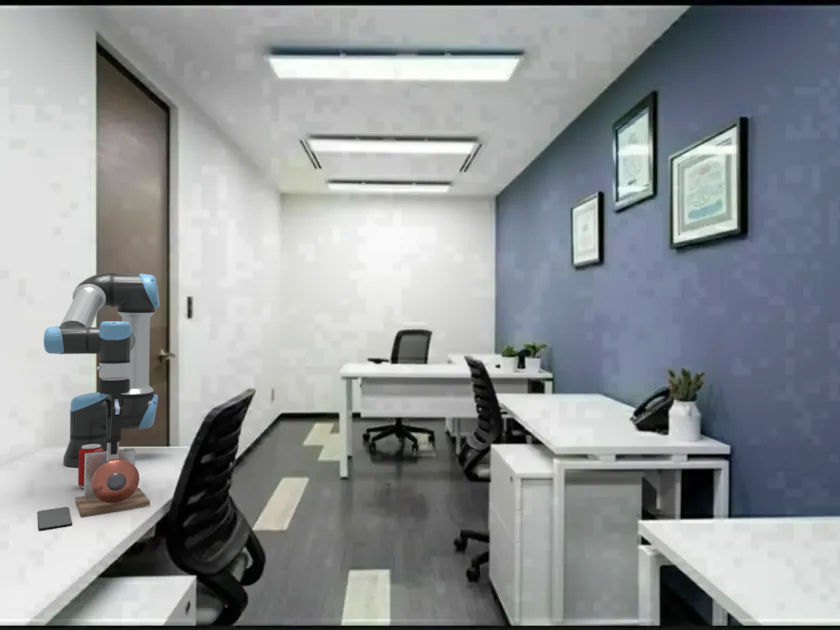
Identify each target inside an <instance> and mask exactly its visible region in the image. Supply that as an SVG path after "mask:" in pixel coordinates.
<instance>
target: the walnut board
mask: <svg viewBox="0 0 840 630" xmlns="http://www.w3.org/2000/svg"><path fill="white" fill-rule="evenodd" d="M74 498H75V501H74V502H75V505H76V507H77V508H76V509H77V510H78V513H79V517H80V518H85V517H92V516H97V515H98V516H99V515H103V514H110V512H111V513H116V511H117V512H121V511H122V510H123V511H129V510H134V508H135V509H139V508H138V507H141V508H143V507H142V506H147V505H150V506H151V501H150V500H149V499H148V497H147V495H146V494H145V493H144V492H143V490H142V489H141V487H137V489H136V490H135V492H134V493H133V494H132V495H131V496H130V497H129V498H127V499H125V500H123V501H121V502H117V503H107V502H103V501H101V500H100V499H98V498H93V499H87V500H85V498H84V495H83V496H76V497H74ZM147 507H148V506H147ZM128 509H129V510H128Z"/></svg>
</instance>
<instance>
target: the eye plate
mask: <svg viewBox="0 0 840 630" xmlns="http://www.w3.org/2000/svg"><path fill="white" fill-rule="evenodd" d="M119 459H124V460H127V461H129V462H131V463H132V464H133V465H134V466H135V467H136V450H135V448H134V447H133V448H125V449H124V448H123V449H119ZM105 462H107V451H103V452H94V453H85V474H84V489H83V490H84V491H83V496H84V498H85V500H87V499H93V498H97V497H96V495H95V494H94V492H93V489H92V485H91V482H92V477H93V475H94V473H95V471H96V470H97V469H98V468H99V467H100V466H101V465H102V464H104V463H105Z"/></svg>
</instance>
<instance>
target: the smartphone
mask: <svg viewBox="0 0 840 630" xmlns="http://www.w3.org/2000/svg"><path fill="white" fill-rule="evenodd" d="M37 515H38V516H37V527H38V531H39V532H43V531H50V530H55V529H56V530H57V529H60V528H61V529H62V528H67V527H71V526H73V521H72V517H71V513H70V508H69V507H68V506H64V507H56V508H49V509H44V510H42V509H41V510H38V511H37Z"/></svg>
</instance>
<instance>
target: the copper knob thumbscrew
mask: <svg viewBox="0 0 840 630" xmlns="http://www.w3.org/2000/svg"><path fill="white" fill-rule="evenodd" d="M139 484H140V473H139V471H138V469H137V467H136V465H135V466H134V465H133V464H132V463H131V462H129V461H127V460H124V459H113V460H110V461H107V462H105V463H104V464H102V465H101V466H100V467H99V468H98V469H97V470H96V471H95V473H94V475H93V477H92V482H91V485H92V489H93V492H94V494H95V495H96V497H97V498H98V499H100V500H101V501H103V502H107V503H117V502H121V501H123V500H125V499H127V498H129V497H130V496H131V495H132V494H133V493H134V492H135V490H136V489H137V488H139V487H138V486H139Z"/></svg>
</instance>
